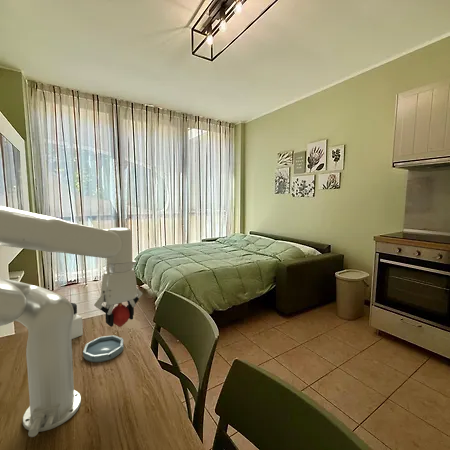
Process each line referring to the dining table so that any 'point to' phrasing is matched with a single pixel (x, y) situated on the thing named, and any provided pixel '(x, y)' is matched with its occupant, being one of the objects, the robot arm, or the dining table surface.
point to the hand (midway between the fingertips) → (120, 321)
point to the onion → (120, 315)
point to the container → (76, 323)
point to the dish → (103, 348)
